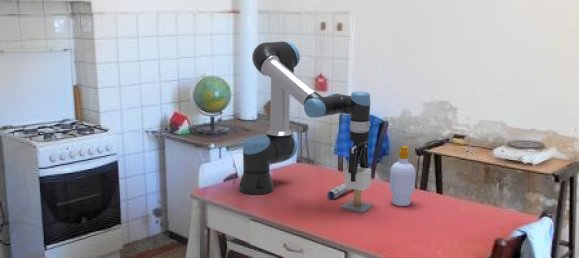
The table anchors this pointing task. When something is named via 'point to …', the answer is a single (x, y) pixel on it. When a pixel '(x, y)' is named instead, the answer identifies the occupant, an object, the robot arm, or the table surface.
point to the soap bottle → (402, 179)
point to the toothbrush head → (337, 191)
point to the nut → (359, 178)
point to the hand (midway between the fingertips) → (357, 186)
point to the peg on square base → (357, 204)
